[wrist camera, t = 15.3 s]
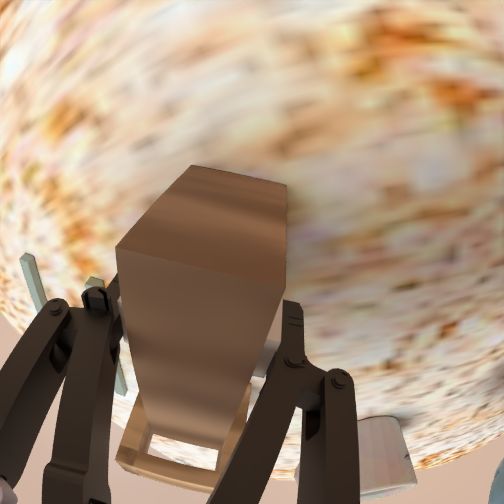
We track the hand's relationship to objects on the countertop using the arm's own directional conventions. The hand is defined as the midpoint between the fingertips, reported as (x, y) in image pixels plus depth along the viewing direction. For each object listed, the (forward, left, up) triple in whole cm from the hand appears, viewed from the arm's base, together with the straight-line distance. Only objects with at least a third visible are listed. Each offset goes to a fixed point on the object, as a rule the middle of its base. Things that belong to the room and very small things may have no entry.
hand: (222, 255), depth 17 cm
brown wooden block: (+3, 0, -1) cm, 3 cm away
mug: (+22, +20, -1) cm, 30 cm away
